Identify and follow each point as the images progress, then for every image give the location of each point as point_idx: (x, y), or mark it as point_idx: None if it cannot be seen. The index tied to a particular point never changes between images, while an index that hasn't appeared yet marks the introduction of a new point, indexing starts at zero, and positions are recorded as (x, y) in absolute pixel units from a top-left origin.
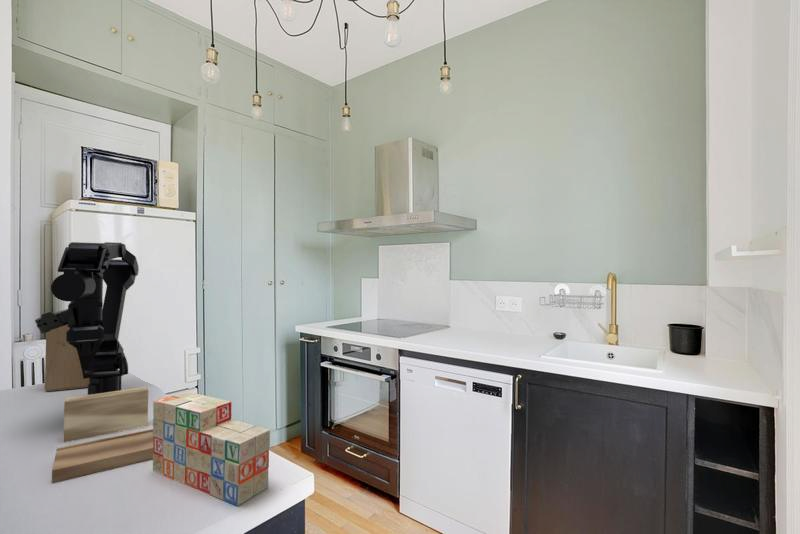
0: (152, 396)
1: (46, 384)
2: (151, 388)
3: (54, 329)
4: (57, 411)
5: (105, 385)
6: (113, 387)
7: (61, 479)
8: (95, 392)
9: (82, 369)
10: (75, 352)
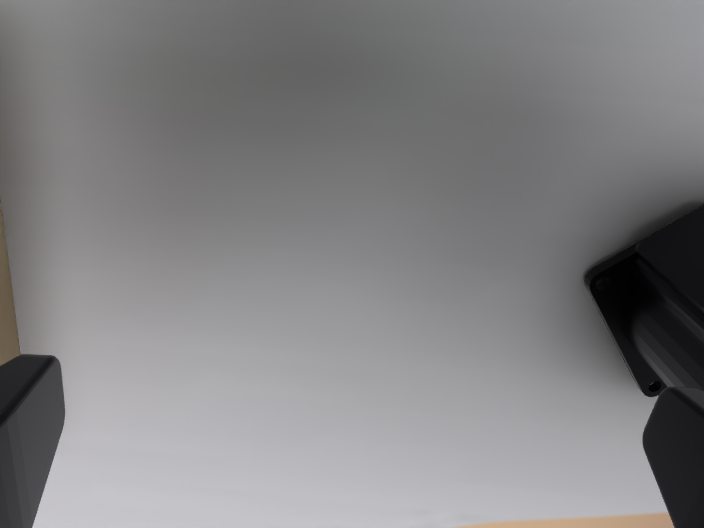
0: (516, 488)
1: None
2: None
3: None
4: (675, 4)
5: (691, 353)
6: (668, 380)
7: None
8: (676, 272)
9: (7, 367)
10: None
